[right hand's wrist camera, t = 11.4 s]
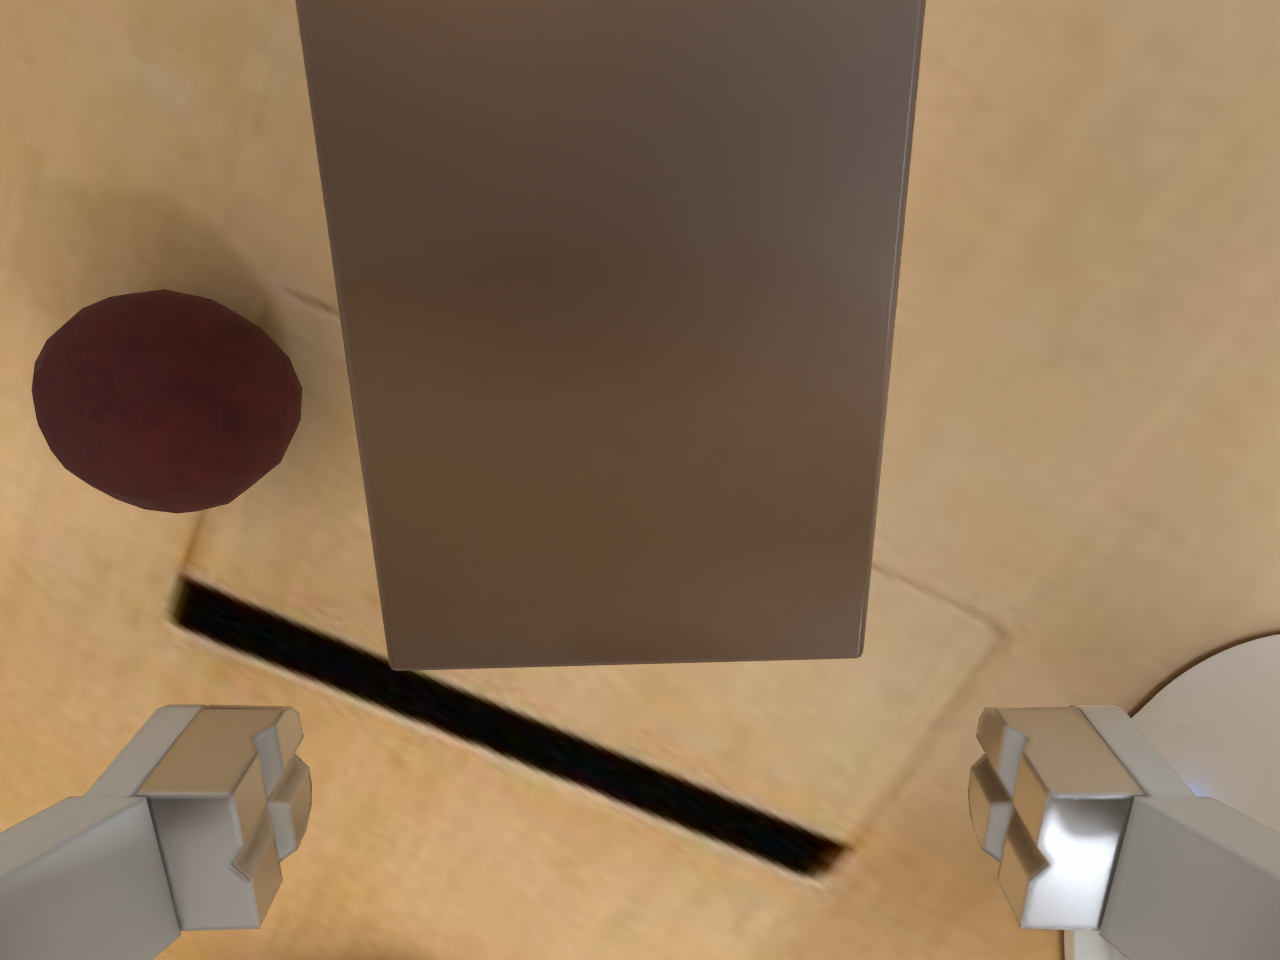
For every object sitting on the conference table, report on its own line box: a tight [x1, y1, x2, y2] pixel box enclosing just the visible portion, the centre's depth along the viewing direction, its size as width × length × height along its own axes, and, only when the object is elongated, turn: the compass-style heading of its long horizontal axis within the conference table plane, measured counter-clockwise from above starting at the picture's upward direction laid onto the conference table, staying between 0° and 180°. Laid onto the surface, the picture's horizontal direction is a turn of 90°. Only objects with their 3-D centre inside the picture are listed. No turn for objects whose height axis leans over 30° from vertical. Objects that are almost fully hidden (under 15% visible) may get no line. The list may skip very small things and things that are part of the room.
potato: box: [32, 290, 302, 513], centre depth 29 cm, size 7×8×7 cm
